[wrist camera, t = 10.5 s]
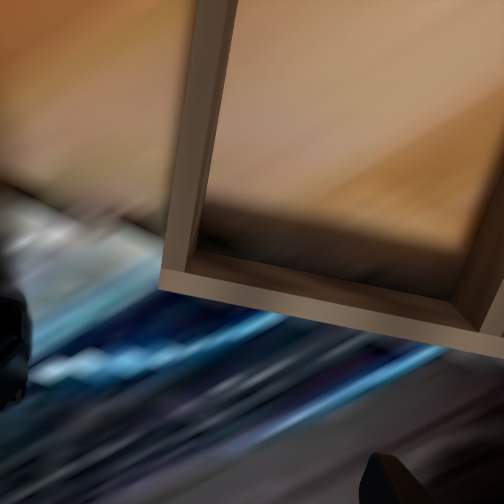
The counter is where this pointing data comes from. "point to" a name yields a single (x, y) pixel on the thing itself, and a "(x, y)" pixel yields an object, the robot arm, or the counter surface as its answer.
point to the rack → (303, 283)
